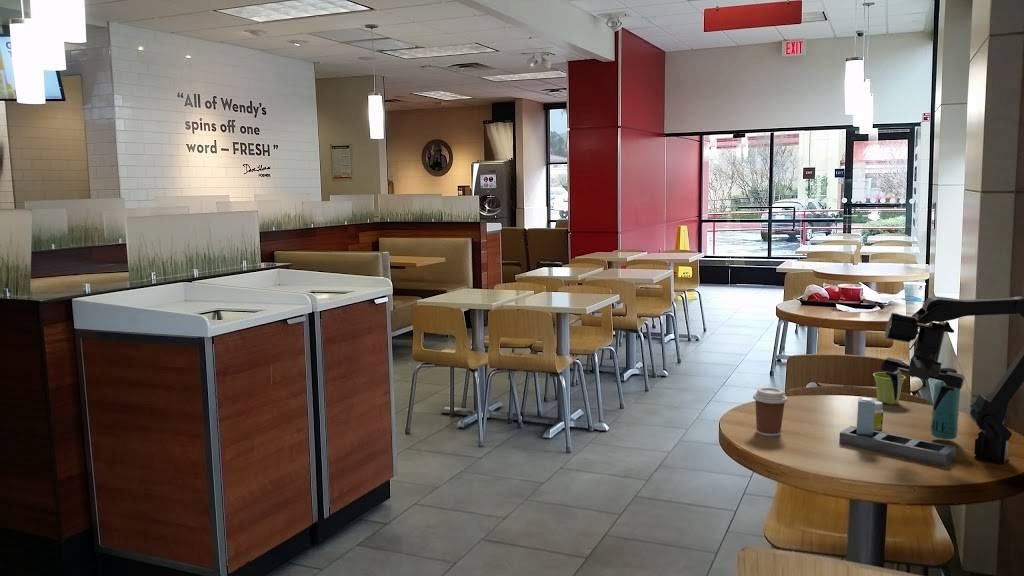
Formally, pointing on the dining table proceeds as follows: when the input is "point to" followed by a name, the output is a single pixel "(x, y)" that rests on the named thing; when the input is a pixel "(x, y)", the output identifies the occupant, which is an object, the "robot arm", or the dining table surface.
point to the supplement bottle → (878, 417)
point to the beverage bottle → (945, 411)
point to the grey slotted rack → (900, 446)
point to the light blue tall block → (865, 417)
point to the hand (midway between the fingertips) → (915, 404)
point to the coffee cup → (769, 410)
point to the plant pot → (886, 388)
